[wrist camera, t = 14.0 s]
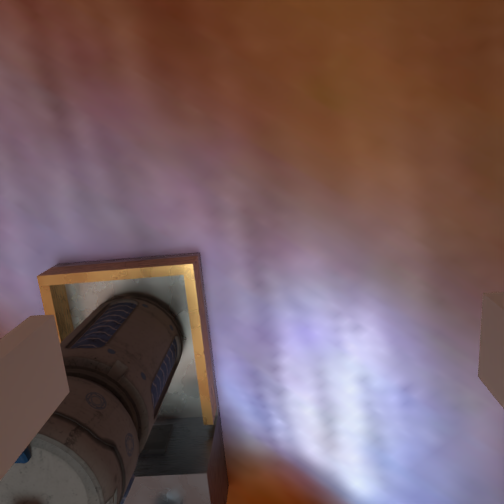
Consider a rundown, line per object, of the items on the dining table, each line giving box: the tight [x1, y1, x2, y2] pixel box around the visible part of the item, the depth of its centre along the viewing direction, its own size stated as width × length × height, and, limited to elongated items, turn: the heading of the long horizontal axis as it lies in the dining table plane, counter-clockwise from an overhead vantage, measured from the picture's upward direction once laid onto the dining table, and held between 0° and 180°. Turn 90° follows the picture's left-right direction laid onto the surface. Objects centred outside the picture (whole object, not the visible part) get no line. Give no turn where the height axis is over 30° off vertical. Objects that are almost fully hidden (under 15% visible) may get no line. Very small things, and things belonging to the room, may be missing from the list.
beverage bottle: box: [0, 295, 183, 504], centre depth 36 cm, size 10×13×25 cm
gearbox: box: [37, 253, 229, 504], centre depth 45 cm, size 28×15×12 cm, turn 5°
